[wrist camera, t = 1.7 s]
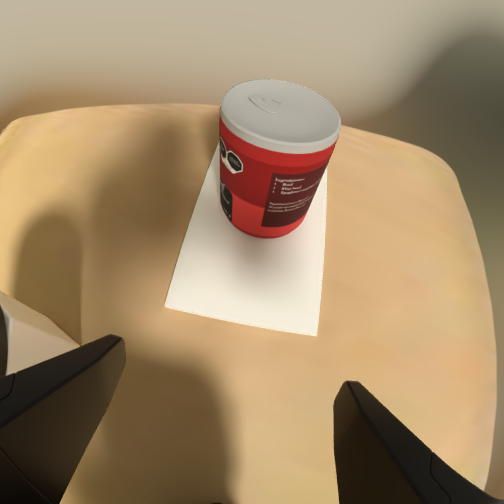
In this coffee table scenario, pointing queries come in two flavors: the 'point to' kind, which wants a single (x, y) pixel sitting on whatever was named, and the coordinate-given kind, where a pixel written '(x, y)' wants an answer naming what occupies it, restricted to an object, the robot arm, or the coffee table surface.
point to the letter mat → (250, 266)
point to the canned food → (273, 154)
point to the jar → (27, 337)
